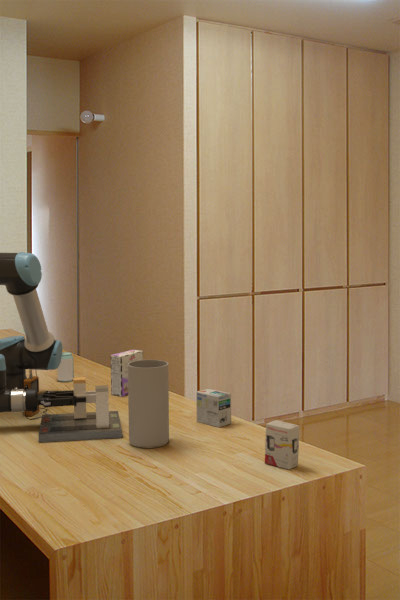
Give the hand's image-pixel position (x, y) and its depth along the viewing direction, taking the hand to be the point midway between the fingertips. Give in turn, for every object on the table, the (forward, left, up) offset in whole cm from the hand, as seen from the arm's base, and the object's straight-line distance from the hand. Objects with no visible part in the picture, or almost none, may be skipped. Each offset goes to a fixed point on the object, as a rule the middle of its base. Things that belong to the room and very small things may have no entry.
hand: (95, 396), depth 237 cm
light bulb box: (+6, +40, -10) cm, 41 cm away
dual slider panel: (+6, -5, -9) cm, 12 cm away
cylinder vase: (+23, +16, -10) cm, 30 cm away
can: (-68, -11, -10) cm, 70 cm away
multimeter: (-16, -19, -10) cm, 27 cm away
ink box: (+50, +51, -10) cm, 72 cm away
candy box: (-42, +14, -10) cm, 45 cm away
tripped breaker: (0, -5, -7) cm, 9 cm away
